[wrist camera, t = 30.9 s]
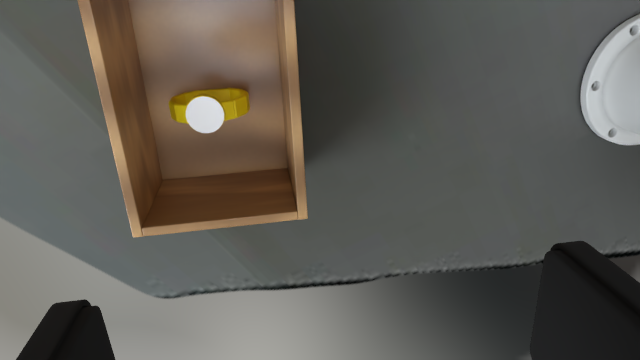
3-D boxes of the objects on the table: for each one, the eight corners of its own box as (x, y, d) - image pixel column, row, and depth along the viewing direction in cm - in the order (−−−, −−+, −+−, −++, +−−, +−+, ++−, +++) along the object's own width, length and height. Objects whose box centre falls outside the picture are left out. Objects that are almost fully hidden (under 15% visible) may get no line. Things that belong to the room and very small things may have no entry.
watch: (247, 77, 38) (247, 91, 32) (251, 110, 39) (251, 129, 33) (173, 83, 37) (160, 99, 32) (179, 116, 38) (167, 137, 33)
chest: (295, 171, 42) (307, 218, 34) (157, 184, 41) (132, 237, 32) (279, -43, 35) (290, -55, 27) (113, -36, 34) (66, -46, 25)
